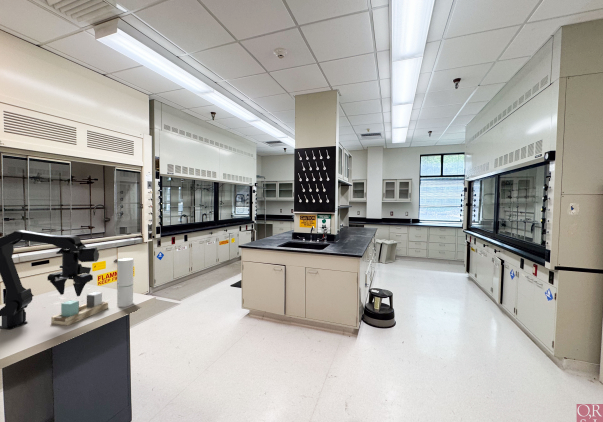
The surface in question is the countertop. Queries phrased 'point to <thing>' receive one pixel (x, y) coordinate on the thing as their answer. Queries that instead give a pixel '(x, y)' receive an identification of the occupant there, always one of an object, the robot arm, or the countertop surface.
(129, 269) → the cylindrical container
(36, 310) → the countertop surface
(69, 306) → the teal block
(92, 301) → the grey rectangular block
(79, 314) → the wooden tray
